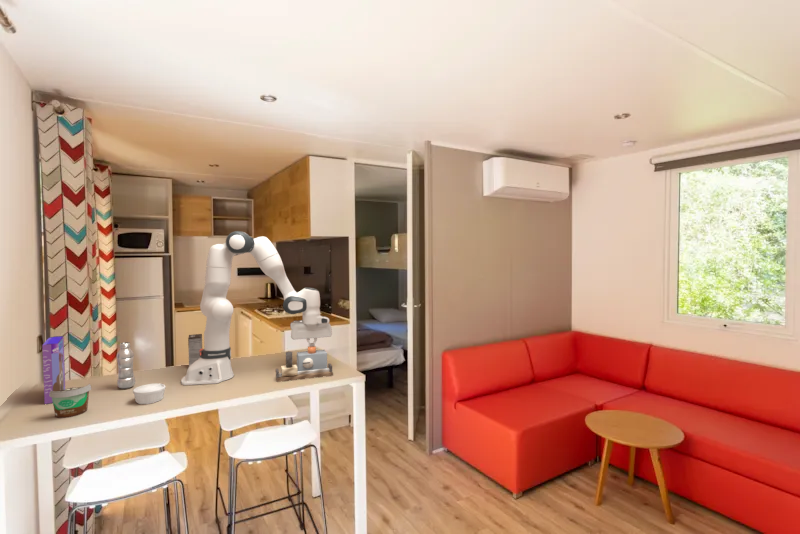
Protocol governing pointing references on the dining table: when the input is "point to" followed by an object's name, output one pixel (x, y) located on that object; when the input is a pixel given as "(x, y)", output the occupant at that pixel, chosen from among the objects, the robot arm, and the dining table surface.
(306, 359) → the gauge cabinet
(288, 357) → the carriage
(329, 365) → the rail
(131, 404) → the dining table surface
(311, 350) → the button
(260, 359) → the dining table surface
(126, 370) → the plastic bottle
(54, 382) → the cereal box
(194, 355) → the coffee box
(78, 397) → the food container
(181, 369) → the dining table surface
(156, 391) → the ramekin
